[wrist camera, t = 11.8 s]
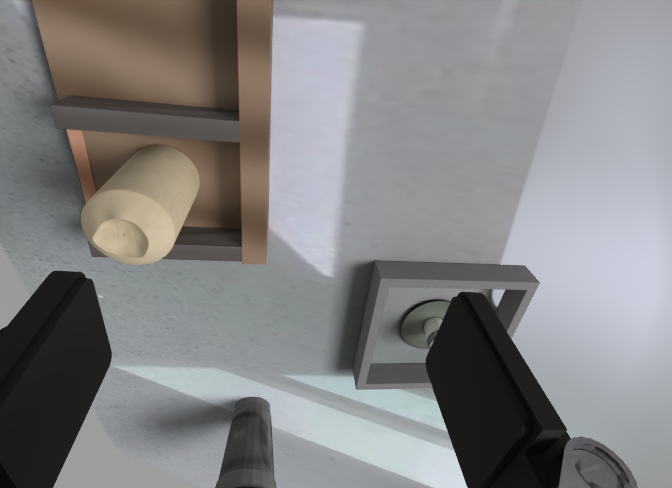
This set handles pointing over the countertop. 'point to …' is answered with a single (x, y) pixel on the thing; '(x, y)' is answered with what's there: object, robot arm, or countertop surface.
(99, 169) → the wooden divided tray
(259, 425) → the beverage cup
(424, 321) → the coffee cup
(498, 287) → the grey shallow square tray
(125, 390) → the countertop surface
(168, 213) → the candle
